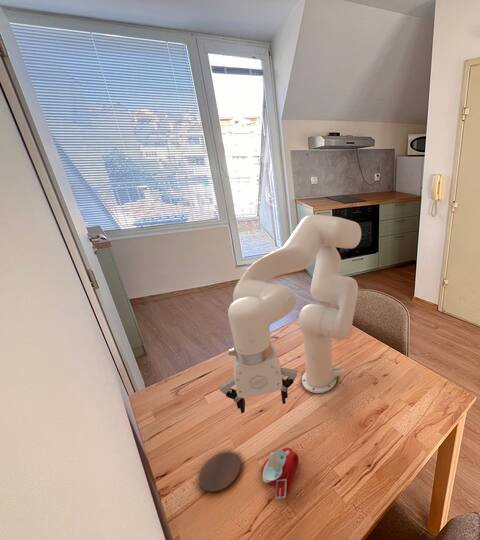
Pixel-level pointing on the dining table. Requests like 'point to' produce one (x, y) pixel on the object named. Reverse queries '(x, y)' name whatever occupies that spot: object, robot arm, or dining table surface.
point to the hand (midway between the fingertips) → (263, 403)
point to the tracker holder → (285, 473)
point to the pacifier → (274, 466)
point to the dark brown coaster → (220, 472)
